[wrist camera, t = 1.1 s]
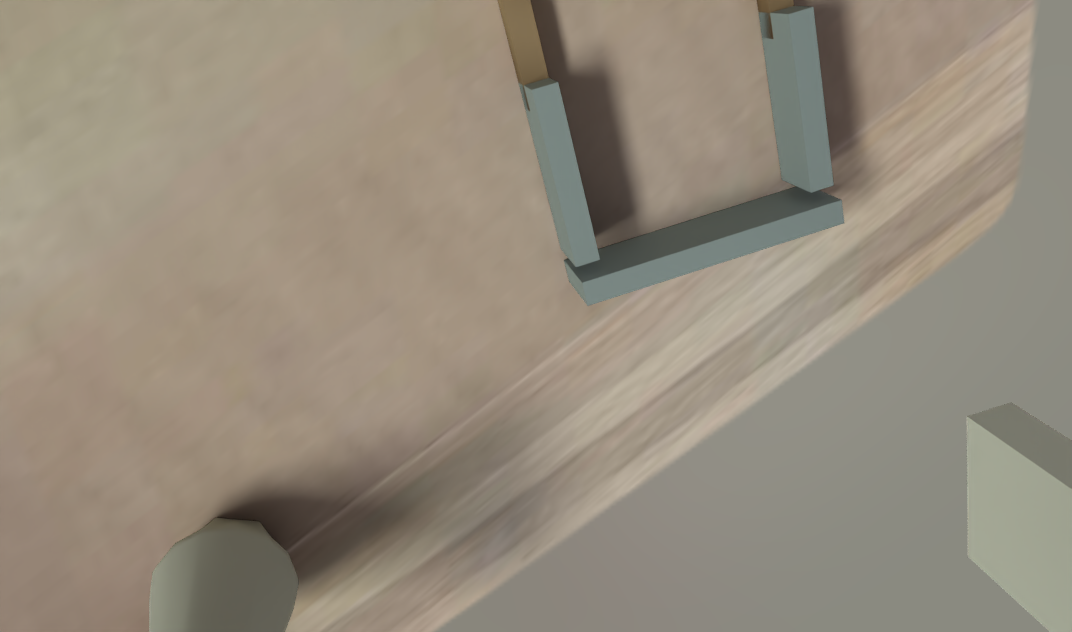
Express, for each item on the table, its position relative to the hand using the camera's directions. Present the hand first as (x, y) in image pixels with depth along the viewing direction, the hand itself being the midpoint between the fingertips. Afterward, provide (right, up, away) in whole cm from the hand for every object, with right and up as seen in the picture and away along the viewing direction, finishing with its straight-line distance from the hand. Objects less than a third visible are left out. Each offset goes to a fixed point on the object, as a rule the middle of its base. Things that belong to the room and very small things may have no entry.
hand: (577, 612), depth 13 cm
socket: (+5, +12, +22) cm, 26 cm away
